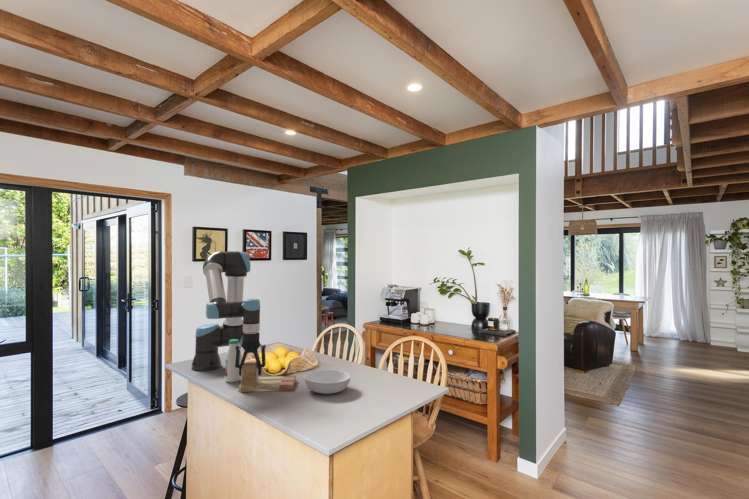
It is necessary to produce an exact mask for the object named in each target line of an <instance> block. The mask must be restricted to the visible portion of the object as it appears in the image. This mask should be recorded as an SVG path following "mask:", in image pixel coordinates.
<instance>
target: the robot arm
mask: <svg viewBox="0 0 749 499" xmlns="http://www.w3.org/2000/svg"><path fill="white" fill-rule="evenodd" d="M202 271H203V272H202V273H203V275H204V276H205V279H206V286H207V287H206V288H207V293H208V299H209V302H207V304H206V305H205V315H206V318H207V319H208V320H218V319H219V320H221V319H225V320H224V321H223V322H222V325H220V324H219V323H215V322H214V323H213V322H211V323H207V324H202V325H199V326H198V327H196V330H195V335H194V336H195V349H194V350H195V352H194V357H193V359H192V362H191V370H193V371H197V372H200V371H212V370H216V369H219V368H221V367H222V360H221V358H220V354H219V348H222V347H229V340H231V339H238V340H239V344H238V345H237V346H236V347H235V348H236V362H235V367H236V368H239V375H240V376H241V379H242V365H243V364H244V363H245V362H246V359H247V356H248V354H250V353H251V354H253V356H254V359H255V362H257V366H258V368H257V369H256V383H258V382H259V377H260V376H261V375H262V368H265V367H266V348H267V345H266V344H261V342H260V330H261V329H260V327H261V326H260V325H261V324H260V319H261V317H260V316H261V301H260V299H258V298H245V299H243V298H244V282H245V281H244V279H245V278H246V277H247V276H248V275H247V274H248V273H250V272H251V260H250V256H249V254H248V253H247V252H246V251H239V250H238V251H230V250H229V251H223V250H222V251H221V250H220V251H219V250H218V251H215V252H213V253H211V254H210V255H208V257H207V258H206V259H205V260H204V261H203V265H202ZM222 273H224V276H225V277H226V278H227V290H226V291H225V287H224V281H223V276H222ZM259 348H260V350H261V353H260V354H261V359H260V355H259V352H258V349H259ZM241 349H243V351H244V352H243V355H242V360H241V363H240V365H239V361H240V352H241Z"/></svg>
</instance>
